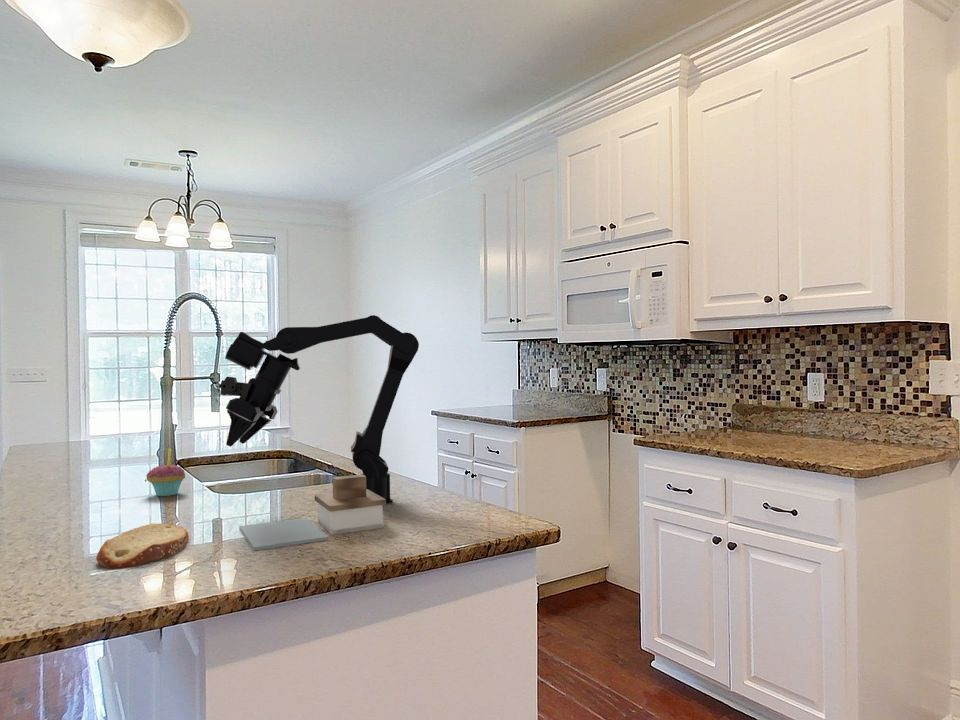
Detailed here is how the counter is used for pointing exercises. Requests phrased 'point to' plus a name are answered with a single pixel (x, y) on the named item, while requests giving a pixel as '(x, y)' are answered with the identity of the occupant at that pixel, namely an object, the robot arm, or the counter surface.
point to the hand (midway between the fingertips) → (235, 444)
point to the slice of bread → (142, 546)
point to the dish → (350, 519)
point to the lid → (349, 494)
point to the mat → (282, 533)
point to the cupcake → (166, 478)
